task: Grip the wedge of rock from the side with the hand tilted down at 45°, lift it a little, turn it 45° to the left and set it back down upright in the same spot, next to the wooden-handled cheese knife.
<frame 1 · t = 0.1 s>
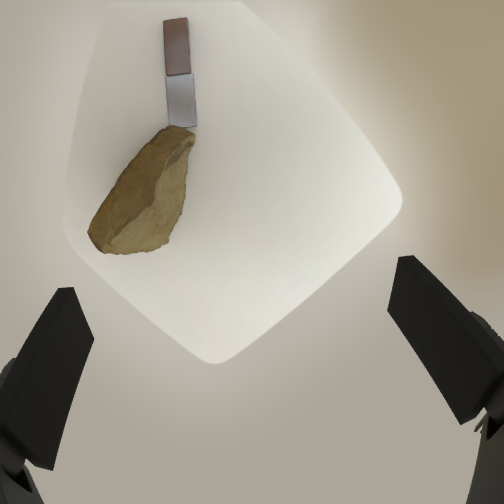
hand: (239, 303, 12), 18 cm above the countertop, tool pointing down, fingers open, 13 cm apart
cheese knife: (179, 73, 23), on the countertop
rock: (167, 183, 28), on the countertop, touching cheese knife
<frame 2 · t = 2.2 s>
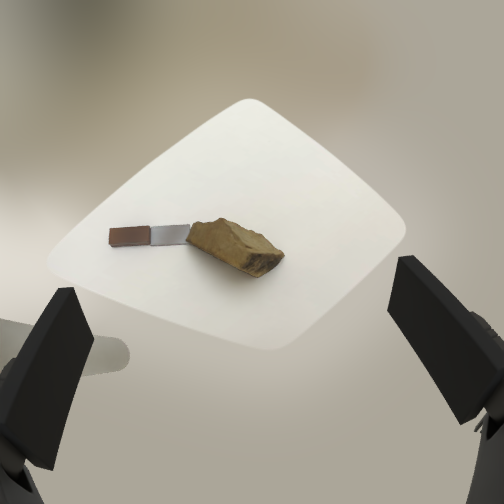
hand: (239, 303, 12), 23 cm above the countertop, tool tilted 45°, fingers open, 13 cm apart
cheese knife: (149, 236, 37), on the countertop
rock: (232, 248, 37), on the countertop, touching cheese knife
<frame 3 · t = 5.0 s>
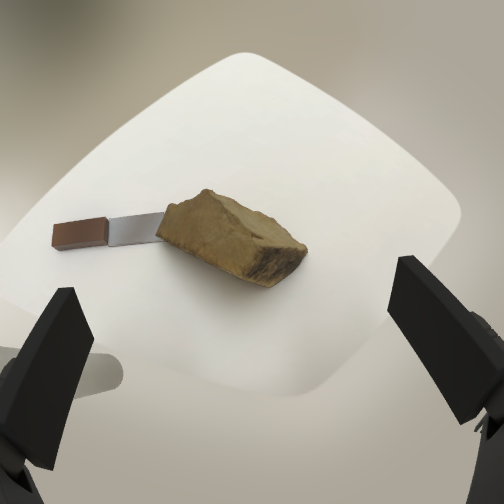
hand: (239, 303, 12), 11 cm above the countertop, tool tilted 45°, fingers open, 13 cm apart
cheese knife: (107, 233, 24), on the countertop
rock: (228, 244, 24), on the countertop, touching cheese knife
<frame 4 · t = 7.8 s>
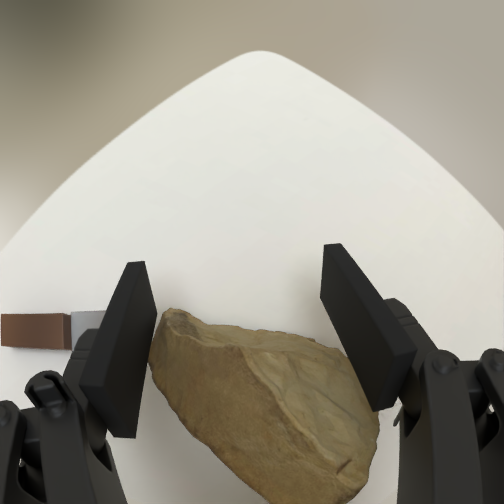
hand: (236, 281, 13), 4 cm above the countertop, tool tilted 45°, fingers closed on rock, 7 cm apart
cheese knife: (70, 333, 16), on the countertop
rock: (257, 362, 16), on the countertop, touching gripper
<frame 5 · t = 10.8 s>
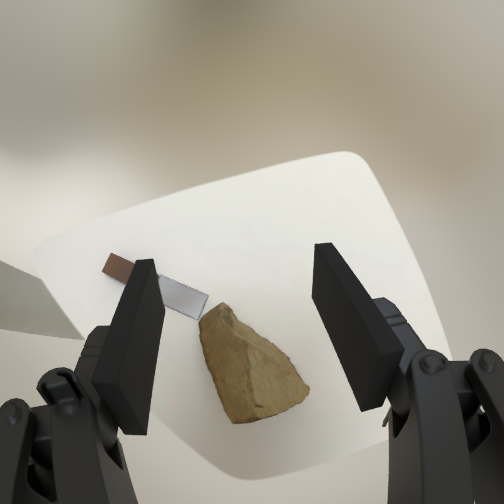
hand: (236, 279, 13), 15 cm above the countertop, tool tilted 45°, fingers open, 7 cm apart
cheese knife: (154, 286, 28), on the countertop
rock: (253, 354, 27), on the countertop
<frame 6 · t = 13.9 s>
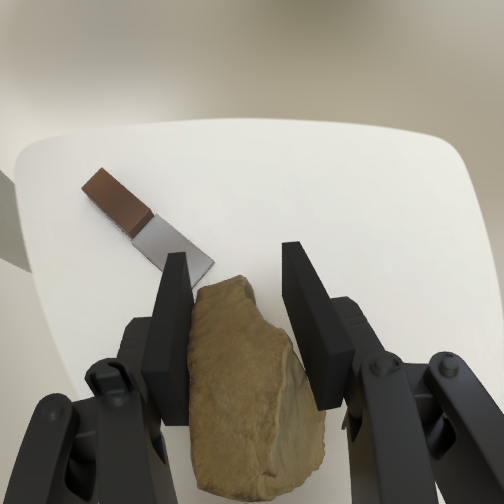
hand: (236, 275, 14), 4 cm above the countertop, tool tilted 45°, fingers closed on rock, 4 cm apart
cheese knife: (142, 227, 19), on the countertop
rock: (260, 370, 17), on the countertop, touching gripper
when the fingers open (4 cm above the countertop, at t = 13.9 s): rock stays where it is, on the countertop.
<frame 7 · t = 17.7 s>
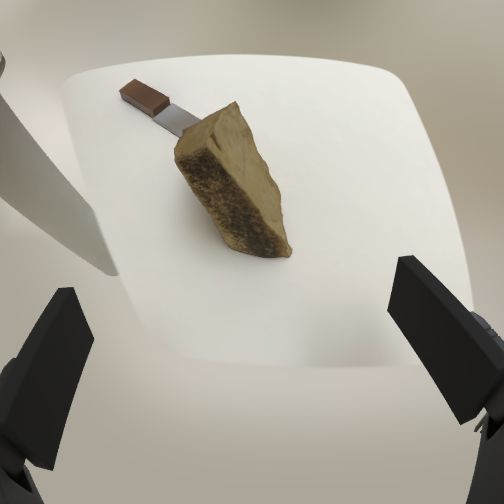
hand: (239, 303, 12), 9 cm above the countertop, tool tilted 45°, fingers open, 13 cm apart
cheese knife: (161, 111, 25), on the countertop
rock: (241, 192, 23), on the countertop
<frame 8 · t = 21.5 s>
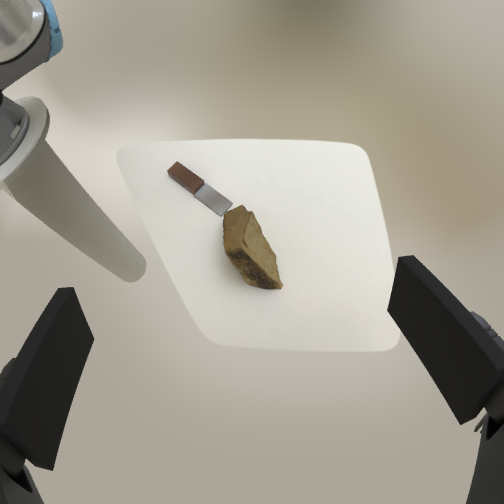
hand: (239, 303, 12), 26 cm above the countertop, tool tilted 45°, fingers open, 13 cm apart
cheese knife: (198, 189, 42), on the countertop
rock: (253, 249, 40), on the countertop
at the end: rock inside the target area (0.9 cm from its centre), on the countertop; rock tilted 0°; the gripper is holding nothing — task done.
